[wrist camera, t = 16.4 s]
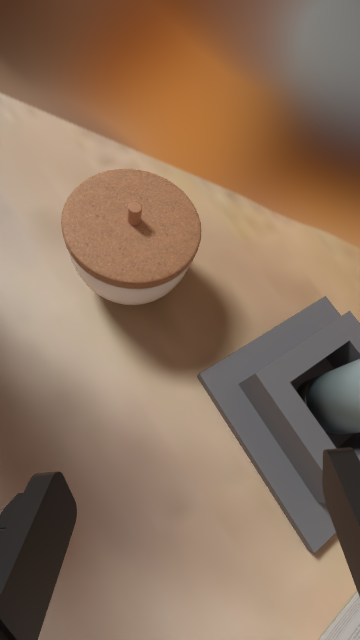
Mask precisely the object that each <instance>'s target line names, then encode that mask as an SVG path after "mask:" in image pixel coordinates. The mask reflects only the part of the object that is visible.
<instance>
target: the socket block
mask: <svg viewBox="0 0 360 640" xmlns="http://www.w3.org/2000/svg"><path fill="white" fill-rule="evenodd" d="M358 359H360V323H359V322H358V321H357V319H356V318H355V317H354V316H353V314H352V313H351V312H350V311H349V312H347V313H345V314H344V315H342V316H341V315H340V314H339V313H338V311H337V310H336V309H335V307H334V306H333V305H332V304H331V302H330V301H329V300H328V299H327V297H326V296H325V297H323V298H321V299H320V300H318V301H317V302H315V303H313V304H312V305H310V306H309V307H307V308H305V309H304V310H302V311H300V312H299V313H297V314H296V315H294V316H292V317H291V318H289V319H287V320H286V321H284V322H283V323H281V324H279V325H278V326H276V327H274V328H273V329H271V330H270V331H268V332H266V333H265V334H263V335H262V336H260V337H258V338H257V339H255V340H253V341H252V342H250V343H249V344H247V345H245V346H244V347H242V348H240V349H239V350H237V351H236V352H234V353H232V354H231V355H229V356H228V357H226V358H224V359H223V360H221V361H219V362H218V363H216V364H215V365H213V366H211V367H210V368H208V369H206V370H205V371H203V372H202V373H200V374H199V375H198V376H197V377H198V379H199V380H200V382H201V384H202V385H203V387H204V388H205V390H206V391H207V393H208V395H209V396H210V398H211V399H212V401H213V402H214V404H215V405H216V407H217V409H218V410H219V412H220V413H221V415H222V416H223V418H224V420H225V421H226V423H227V424H228V426H229V427H230V429H231V431H232V432H233V434H234V435H235V437H236V438H237V440H238V441H239V443H240V445H241V446H242V448H243V449H244V451H245V452H246V454H247V456H248V457H249V459H250V460H251V462H252V463H253V465H254V467H255V468H256V470H257V471H258V473H259V474H260V476H261V478H262V479H263V481H264V482H265V484H266V485H267V487H268V488H269V490H270V492H271V493H272V495H273V496H274V498H275V499H276V501H277V503H278V504H279V506H280V507H281V509H282V510H283V512H284V514H285V515H286V517H287V518H288V520H289V521H290V523H291V524H292V526H293V528H294V529H295V531H296V532H297V534H298V535H299V537H300V539H301V540H302V542H303V543H304V545H305V546H306V548H307V550H309V551H311V552H313V553H316V552H317V551H318V550H319V549H320V548H321V547H322V546H323V545H324V544H325V543H326V542H327V541H328V540H329V539H330V538H331V537H332V536H333V535H334V534H335V533H336V531H335V528H334V525H333V522H332V520H331V517H330V514H329V511H328V508H327V505H326V502H325V498H324V493H323V486H322V474H323V451H324V450H325V449H337V448H348V447H351V448H352V449H353V450H354V451H355V453H356V455H357V457H358V459H359V460H360V432H359V433H350V434H341V435H332V436H328V435H327V434H326V433H325V431H324V430H323V428H322V427H321V426H320V424H319V423H318V421H317V420H316V419H315V417H314V416H313V414H312V413H311V411H310V410H309V409H308V407H307V406H306V404H305V403H304V402H303V400H302V399H301V397H300V396H299V395H298V393H297V392H296V391H297V389H298V388H299V386H300V385H301V384H302V383H303V382H305V381H307V380H309V379H312V378H314V377H317V376H319V375H322V374H324V373H326V372H329V371H331V370H334V369H336V368H339V367H341V366H343V365H346V364H348V363H351V362H353V361H356V360H358Z"/></svg>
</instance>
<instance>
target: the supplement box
mask: <svg viewBox="0 0 360 640" xmlns="http://www.w3.org/2000/svg"><path fill="white" fill-rule="evenodd" d="M319 640H360V596H359V594H358V592H357V593H356V594H355V595H354V597H353V598H352V599H351V600H350V601H349V603H348V604H347V605H346V606H345V608H344V609H343V610H342V611H341V612H340V614H339V615H338V616H337V617H336V619H335V620H334V621H333V622H332V624H331V625H330V626H329V627H328V629H327V630H326V631H325V633H324V634H323V635H322V636H321V637H320V639H319Z"/></svg>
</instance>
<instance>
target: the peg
mask: <svg viewBox="0 0 360 640" xmlns="http://www.w3.org/2000/svg"><path fill="white" fill-rule="evenodd" d="M296 392H297V393H298V395H299V396H300V397H301V399H302V400H303V402H304V403H305V404H306V406H307V407H308V409H309V410H310V411H311V413H312V414H313V416H314V417H315V419H316V420H317V421H318V423H319V424H320V426H321V427H322V428H323V430H324V431H325V433H326V434H327V435H328V436H332V435H341V434H350V433H359V432H360V359H358V360H356V361H353V362H351V363H348V364H346V365H343V366H341V367H339V368H336V369H334V370H331V371H329V372H326V373H324V374H322V375H319V376H317V377H314V378H312V379H309V380H307V381H305V382H303V383H302V384H301V385H300V386H299V388H298V389H297V391H296Z"/></svg>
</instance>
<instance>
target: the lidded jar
mask: <svg viewBox="0 0 360 640" xmlns="http://www.w3.org/2000/svg"><path fill="white" fill-rule="evenodd" d="M61 225H62V233H63V237H64V240H65V243H66V246H67V249H68V251H69V254H70V257H71V260H72V263H73V265H74V267H75V269H76V270H77V272H78V274H79V276H80V277H81V278H82V279H83V281H84V282H85V283H86V285H87V286H88V287H89V288H90V289H92V290H93V291H94V292H95V293H97V294H98V295H100V296H101V297H103V298H105V299H107V300H109V301H112V302H115V303H118V304H124V305H140V304H146V303H149V302H152V301H155V300H157V299H159V298H162V297H163V296H165V295H166V294H168V293H169V292H170V291H171V290H172V289H173V288H174V287H175V286H176V285H177V284H178V283H179V282H180V280H181V279H182V278H183V276H184V275H185V273H186V271H187V269H188V267H189V265H190V263H191V262H192V261H193V259H194V257H195V255H196V253H197V250H198V247H199V244H200V240H201V223H200V219H199V216H198V213H197V211H196V209H195V207H194V205H193V203H192V202H191V201H190V199H189V198H188V197H187V196H186V194H185V193H184V192H183V191H182V190H181V189H179V188H178V187H177V186H176V185H175V184H173V183H171V182H170V181H168V180H167V179H165V178H163V177H160V176H158V175H156V174H153V173H150V172H146V171H141V170H133V169H117V170H110V171H106V172H103V173H100V174H97V175H95V176H92V177H90V178H89V179H87V180H86V181H84V182H83V183H81V184H80V185H79V186H78V187H77V188H76V189H75V190H74V191H73V192H72V193H71V195H70V196H69V197H68V199H67V201H66V203H65V205H64V209H63V212H62V221H61Z"/></svg>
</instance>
